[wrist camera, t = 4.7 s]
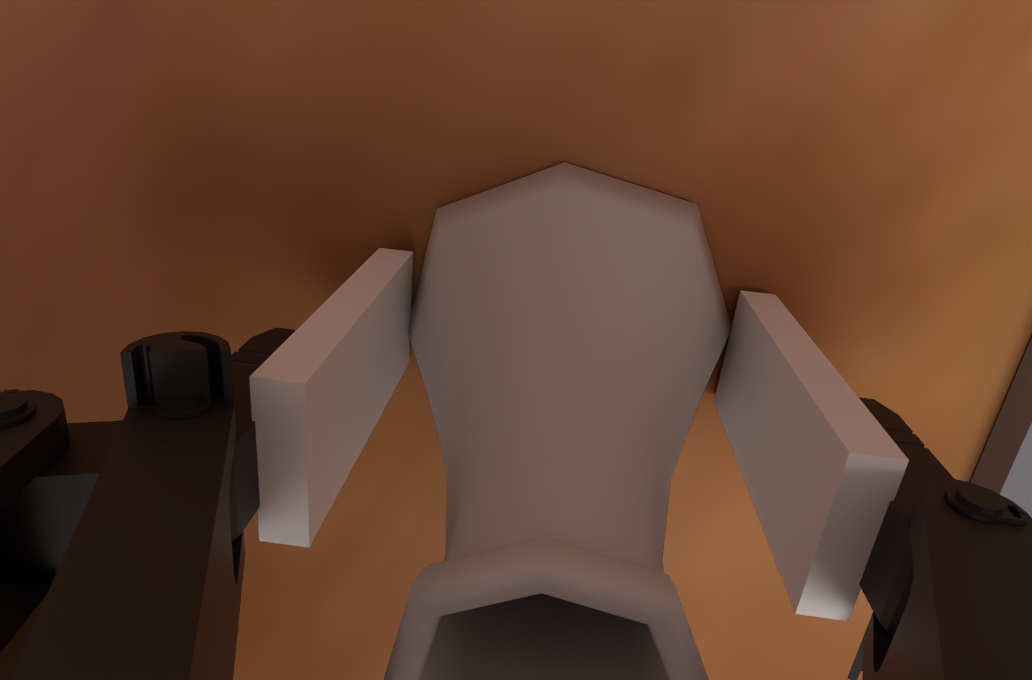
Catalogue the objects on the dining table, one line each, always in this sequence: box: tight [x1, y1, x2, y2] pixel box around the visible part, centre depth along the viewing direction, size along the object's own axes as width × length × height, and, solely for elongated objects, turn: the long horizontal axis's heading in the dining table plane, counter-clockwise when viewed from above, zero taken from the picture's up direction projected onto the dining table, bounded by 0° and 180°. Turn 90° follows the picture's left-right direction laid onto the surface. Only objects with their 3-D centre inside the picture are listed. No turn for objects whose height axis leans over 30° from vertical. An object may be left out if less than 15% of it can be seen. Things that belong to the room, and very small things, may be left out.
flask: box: [384, 162, 731, 680], centre depth 11 cm, size 7×7×10 cm
